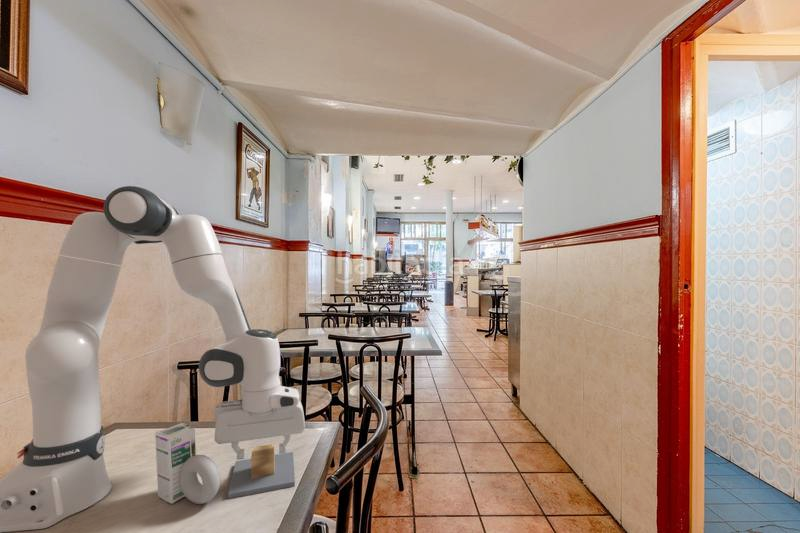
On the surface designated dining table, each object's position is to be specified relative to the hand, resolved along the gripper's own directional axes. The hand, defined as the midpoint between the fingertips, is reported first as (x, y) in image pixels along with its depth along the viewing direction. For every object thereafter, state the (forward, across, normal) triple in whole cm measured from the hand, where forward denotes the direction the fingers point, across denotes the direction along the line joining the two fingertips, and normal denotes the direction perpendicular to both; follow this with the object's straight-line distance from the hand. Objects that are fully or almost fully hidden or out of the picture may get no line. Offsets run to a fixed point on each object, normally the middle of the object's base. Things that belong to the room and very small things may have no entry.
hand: (261, 455), depth 88 cm
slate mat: (+5, 0, 0) cm, 5 cm away
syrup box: (+5, -18, -1) cm, 18 cm away
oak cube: (+4, 0, 0) cm, 4 cm away
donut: (+5, -12, -6) cm, 15 cm away
